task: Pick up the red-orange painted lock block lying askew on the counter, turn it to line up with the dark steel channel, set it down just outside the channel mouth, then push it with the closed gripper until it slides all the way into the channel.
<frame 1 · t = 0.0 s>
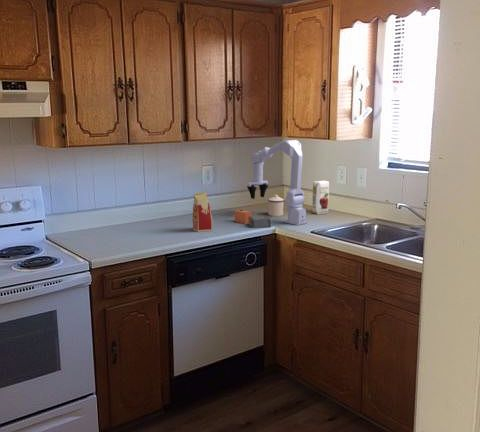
hand: (257, 197, 303), 10 cm above the worktop, tool pointing down, fingers open, 7 cm apart
juice carton: (320, 213, 311), on the worktop
teacup with lid: (274, 214, 307), on the worktop
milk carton: (201, 230, 268), on the worktop
lock block: (243, 222, 287), on the worktop
coupler channel: (257, 223, 283), on the worktop
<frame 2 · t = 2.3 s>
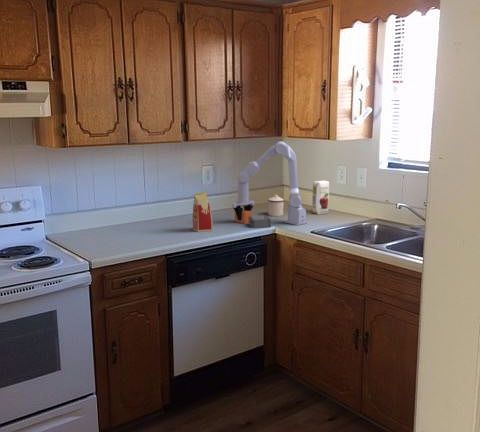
hand: (243, 219, 287), 1 cm above the worktop, tool pointing down, fingers closed on lock block, 5 cm apart
lock block: (243, 221, 287), on the worktop, touching gripper
everything else where it was.
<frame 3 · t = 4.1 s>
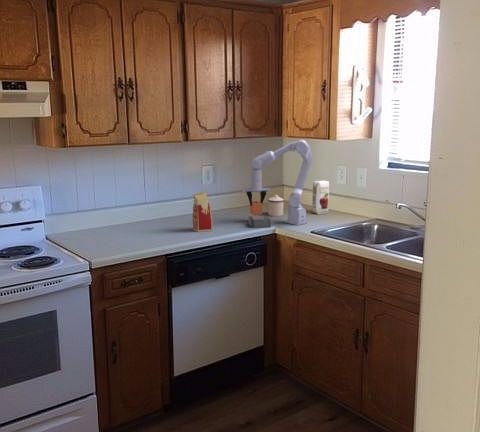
hand: (256, 205, 286), 9 cm above the worktop, tool pointing down, fingers closed on lock block, 5 cm apart
lock block: (256, 213, 287), point 4 cm above the worktop, touching gripper
everything else where it was.
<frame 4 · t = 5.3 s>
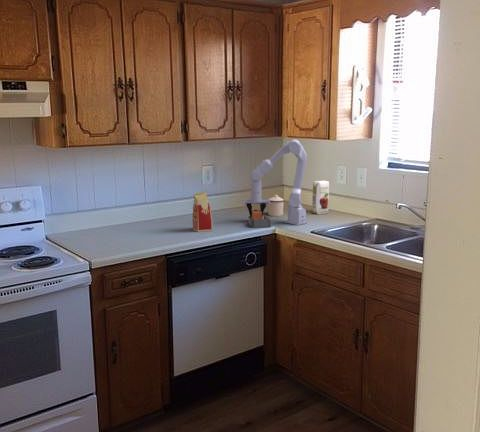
hand: (255, 217, 287), 2 cm above the worktop, tool pointing down, fingers closed on lock block, 5 cm apart
lock block: (255, 221, 288), on the worktop, touching gripper
everything else where it was.
when the fingers open (2 cm above the worktop, at t = 5.8 s): lock block moves 1 cm, on the worktop.
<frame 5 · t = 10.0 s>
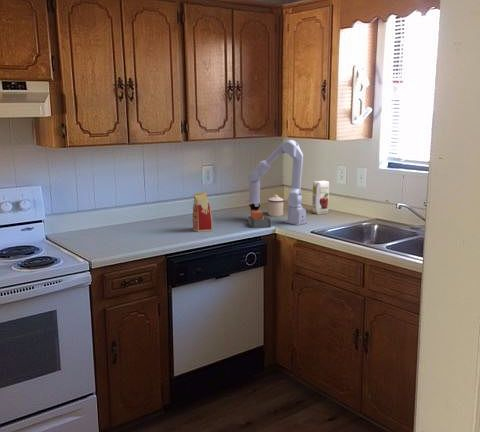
hand: (254, 217, 292), 1 cm above the worktop, tool pointing down, fingers closed
lock block: (256, 222, 286), on the worktop, touching gripper
everything else where it was.
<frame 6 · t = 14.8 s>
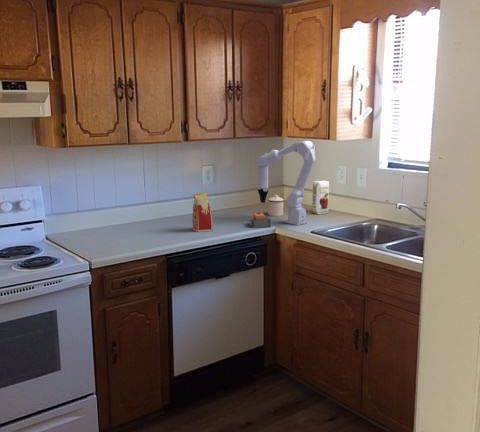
hand: (262, 202, 292), 9 cm above the worktop, tool pointing down, fingers closed
lock block: (259, 225, 278), resting in coupler channel
everything else where it was.
at the end: lock block 1.3 cm from the target spot, resting in coupler channel; lock block tilted 0°; the gripper is holding nothing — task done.
